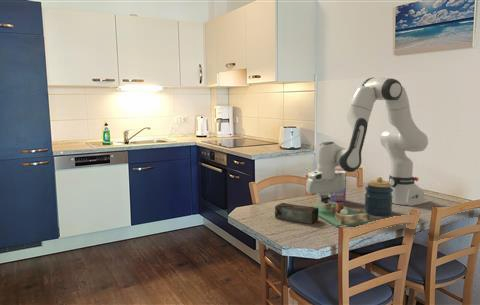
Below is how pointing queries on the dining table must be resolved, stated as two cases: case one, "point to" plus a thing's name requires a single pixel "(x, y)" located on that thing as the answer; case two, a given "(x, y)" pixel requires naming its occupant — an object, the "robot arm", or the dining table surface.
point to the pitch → (328, 215)
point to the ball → (344, 212)
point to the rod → (333, 203)
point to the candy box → (339, 195)
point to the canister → (378, 197)
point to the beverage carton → (296, 213)
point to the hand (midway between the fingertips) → (324, 200)
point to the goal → (352, 218)
